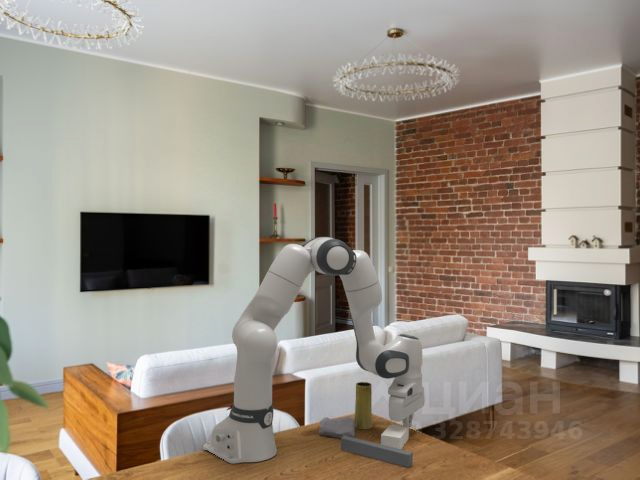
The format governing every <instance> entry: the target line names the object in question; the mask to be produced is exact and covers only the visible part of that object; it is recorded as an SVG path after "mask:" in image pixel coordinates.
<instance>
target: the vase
mask: <svg viewBox="0 0 640 480" xmlns="http://www.w3.org/2000/svg"><path fill="white" fill-rule="evenodd" d="M372 385H373V384H372V383H371V382H367V381H358V382H356V383H355V403H354V404H355V405H354V408H355V409H354V420H355V421H356V426H355V429H358V430H370V429H372V428H373V413H372V409H373V408H372V406H373V405H372V403H373V402H372V398H373V397H372V395H373V393H372V389H373V387H372Z"/></svg>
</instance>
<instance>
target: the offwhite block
mask: <svg viewBox="0 0 640 480" xmlns="http://www.w3.org/2000/svg"><path fill="white" fill-rule="evenodd" d="M409 430H410V427H403V425H398V424H397V425H395V424H389V425H388V426H387V427H386V428H385V430H383V432H382V433H381V434H380V444H381V445H385V446H389V447H393V448H397V449H402V450H403V447H405V445H406V443H407V442H408V441H409V437H410V434H409V432H410V431H409ZM404 444H405V445H404Z"/></svg>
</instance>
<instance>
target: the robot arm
mask: <svg viewBox="0 0 640 480" xmlns="http://www.w3.org/2000/svg"><path fill="white" fill-rule="evenodd" d="M314 271H315V272H318V273H319V274H323V275H329V276H339V277H340V278H339V279H340V280H341V281H342V285H343V289H344V292H345V296H346V299H347V302H348V307H349V313H350V319H351V323H352V327H353V332H354V336H355V342H356V348H355V349H356V351H355V359H356V363H357V365H358V366H359V367H360V369H362V370H364V371H365V372H368V373H371V374H373V375H375V376H378V377H380V378H382V379H388V380H389V379H393V381H392V383H391V384H390V385H389V387H388V389H387V394H388V395H390V396H388V397H389V398H388V417H389V419H390V421H393V422H399V423H400V422H402V426H403V427H409V428H411V427H413V426H412V425H413V424H412V423H413V419H414V416H415V413H416V412H417V411H419V410H420V409H422V408H424V405H425V399H426V398H425V387H424V386H423V373H422V366H423V346H422V341H421V339H420V338H419V337H416V336H413V335H409V334H406V333H405V334H404V333H400V334H397V336H396V337H395V338H394V339H393V340H392V341H390V342H388V343H387V344H382V343H381V342H380V341H379V340H378V339H377V337H376V336H375V331H374V327H373V326H374V325H373V321H372V312H373V311H375V310H376V309H378V307H379V306H380V304H381V303H382V300H383V292H382V288H381V287H382V286H381V283H380V281H379V276H378V274H377V272H376V271H377V270H376V268H375V266H374V264H373V262H372V260H371V258H370V256H369V254H368V253H367V252H366V251H364V250H360V249H352V248H350V247H349V246H348V244H346V242H344V241H343V240H340V239H337V238H334V237H329V236H318V237H314V238H311V239H310V240H308V241H307V242H305V243H304V244H302V245H300V244H296V243H289V244H286V245H285V246H283V248H282V249H281V250H280V252H279V253H278V254H277V256H276V257H275V259H274V260H273V262H272V263H271V265H270V267H269V268H268V271H267V272H266V274H265V276H264V278H263V280H262V282H261V284H260V286H259V287H258V289H257V291H256V293H255V294H254V296H253V297H252V299H251V300H250V302H249V303H248V305H247V306H246V308H245V309H244V310H243V312H242V313H241V315H240V316H239V318H238V320H237V321H236V323H235V324H234V327H233V329H232V331H231V332H232V333H231V338H232V341H233V342H232V343H233V344H234V346H235V348H236V364H235V366H236V367H235V372H234V373H235V374H234V378H233V383H234V384H233V403H232V404H230V405H227V406H226V411H229V414H228V416H226V417H225V418H224V419H222V420H221V421H219V422H218V423H217V424H216V425H215V426H214V427H213V429H212V431H211V438H210V439H209V440H207V441H206V442H205V443H204V444H203V446H202V451H205V450H208V451H209V452H211V453H213V454H215V455H217V456H218V457H217V456H216V457H217V458H219V457H220V458H219V459H221V458H222V459H221V460H223V459H224V460H223V461H225V462H227V463H229V464H232V465H233V464H240V463H257V462H263V461H265V460H269V459H271V458H273V457H275V456H276V455H277V453H278V449H277V446H276V442H275V436H274V434H275V433H274V427H273V421H274V403H273V374H274V367H275V361H276V355H277V354H276V352H277V348H278V340H277V336H276V333H275V332H274V331H275V329H276V328H277V326H278V325H279V324H280V322H281V320H283V318H284V317H285V316H286V315H287V314H288V313H289V312H290V311H291V308H292V307H293V305H294V302H295V300H296V299H297V297H298V294H300V293H299V292H300V291H301V289H302V287H303V284H304V282H305V280H306V278H307V277H308V276H309V275H310V274H311V273H313V272H314ZM209 452H208V453H209ZM211 453H210V454H211ZM213 454H212V455H213ZM215 455H214V456H215Z"/></svg>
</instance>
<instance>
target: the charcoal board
mask: <svg viewBox="0 0 640 480" xmlns="http://www.w3.org/2000/svg"><path fill="white" fill-rule="evenodd" d="M340 450H341V451H344V452H347V453H352V454H355V455H359V456H364V457H367V458H369V459H374V460H377V461H378V460H379V461H381V462H386V463H389V464H393V465H397V466H401V467H404V468H408V469H410V468H411V467H412V466H413V465H414V463H413V460H414V459H413V458H414V457H413V456H414V455H413V452H412V451H409V450H404V449H403V448H402V449H397V448H393V447H389V446H385V445H381V443H377V442H372V441H369V440H365V439H361V438H357V437H349V436H343V437H342V438H340Z"/></svg>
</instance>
